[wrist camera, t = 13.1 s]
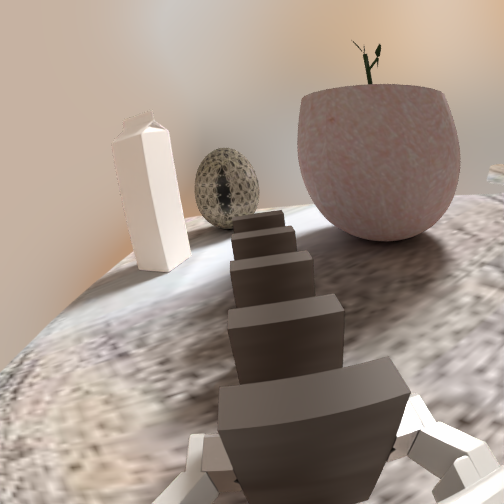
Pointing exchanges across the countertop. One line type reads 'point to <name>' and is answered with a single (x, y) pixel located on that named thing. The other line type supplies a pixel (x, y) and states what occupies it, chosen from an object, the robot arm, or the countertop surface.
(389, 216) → the plant pot
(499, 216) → the countertop surface
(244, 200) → the decorative egg
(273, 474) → the domino
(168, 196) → the milk
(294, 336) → the domino
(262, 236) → the domino
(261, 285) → the domino
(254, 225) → the domino
